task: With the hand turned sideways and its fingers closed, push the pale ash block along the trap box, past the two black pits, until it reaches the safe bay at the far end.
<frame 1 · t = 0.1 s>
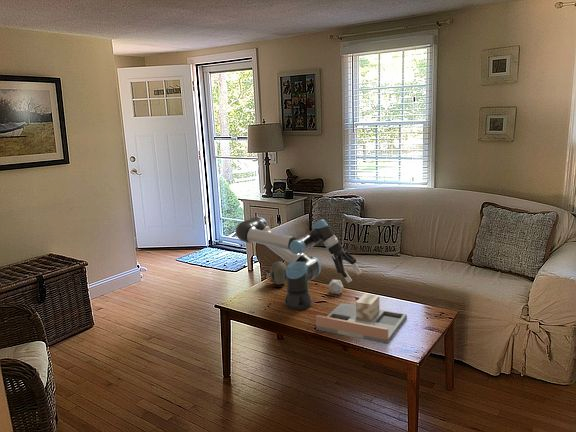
hand: (355, 277, 249), 15 cm above the table, tool tilted 35°, fingers open, 13 cm apart
die: (336, 293, 270), on the table
block: (368, 313, 235), point 2 cm above the table, touching trap box
decorative egg: (279, 284, 290), on the table
trap box: (362, 323, 228), on the table
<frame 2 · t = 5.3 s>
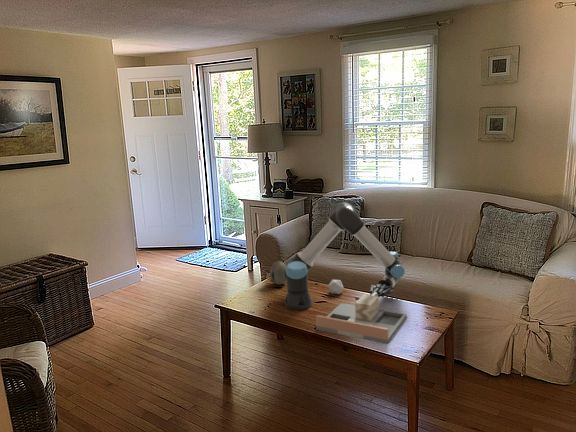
hand: (371, 299, 238), 8 cm above the table, tool horizontal, fingers closed
block: (367, 314, 234), point 2 cm above the table, touching trap box
everything else where it was.
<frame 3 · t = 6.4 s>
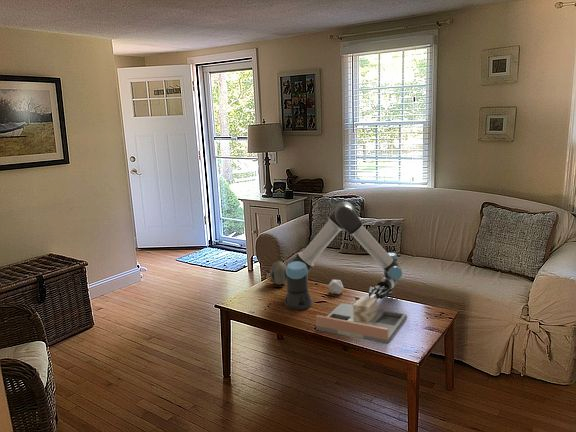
hand: (370, 301, 235), 8 cm above the table, tool horizontal, fingers closed
block: (365, 316, 232), point 2 cm above the table, touching trap box
everything else where it was.
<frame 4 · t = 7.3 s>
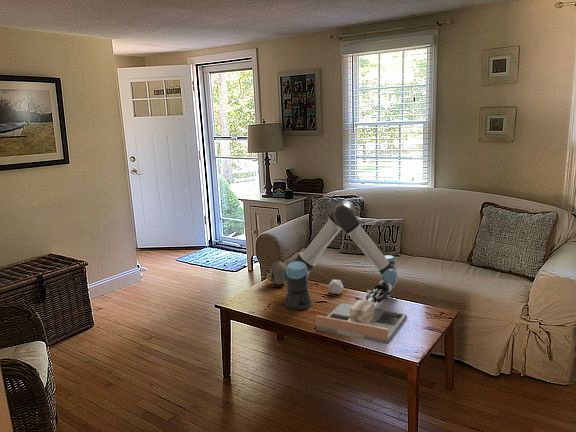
hand: (367, 304, 231), 8 cm above the table, tool horizontal, fingers closed
block: (362, 320, 227), point 2 cm above the table, touching gripper
everything else where it was.
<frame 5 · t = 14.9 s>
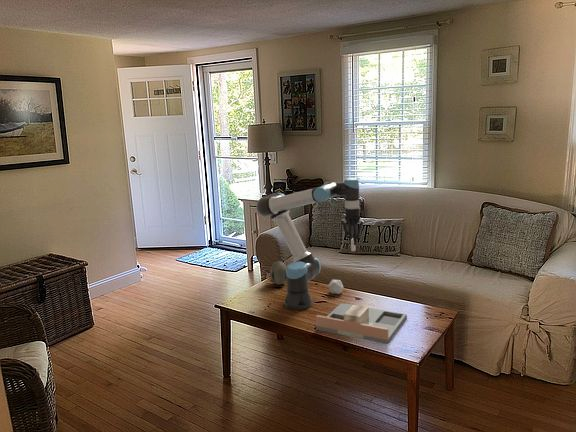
hand: (353, 250, 247), 30 cm above the table, tool pointing down, fingers closed
block: (356, 326, 222), point 2 cm above the table, touching trap box
everything else where it was.
at the end: block inside the target area on the trap box (1.5 cm from its centre), point 2.0 cm above the trap box's base; block tilted 0° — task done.
